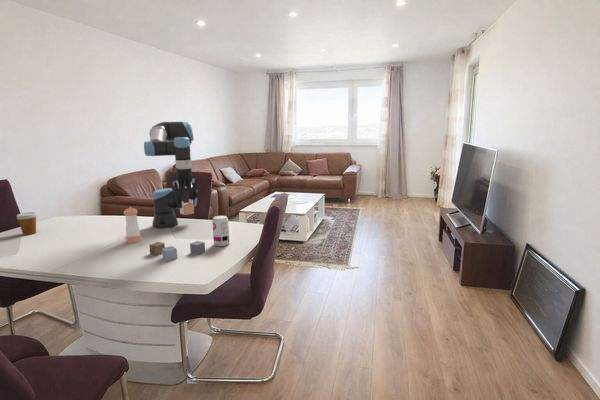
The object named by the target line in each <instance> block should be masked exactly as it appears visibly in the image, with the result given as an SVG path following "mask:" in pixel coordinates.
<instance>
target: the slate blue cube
mask: <svg viewBox="0 0 600 400" xmlns="http://www.w3.org/2000/svg"><path fill="white" fill-rule="evenodd" d="M177 252H178V250H177V247H174V246H173V245H171V246H167V247H165V248H162V254H161V255H162V259H163V260H165V261H167V262H169V261H172V260H176V259H178V253H177Z"/></svg>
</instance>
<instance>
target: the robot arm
mask: <svg viewBox="0 0 600 400" xmlns="http://www.w3.org/2000/svg"><path fill="white" fill-rule="evenodd" d="M148 134H149V141H144V143H143V150H144V155H145V156H146V157H160V156H161V157H164V156H166V157H167V156H174V159H175V168H176V170H175V174H176V180H174V181H172V182H171V184H172V188H171V187H170V188H168V187H166V188H161V189H157V190H155V191H154V192H153V193H152V202H153V211H154V212H153V213H154V216H153V218H152V219H153V220H152V228H154V229H170V228H174V227H176V226H178V225H179V221H178V218H177V216H176V213H175V209H177V210H178V209H179V213H180V215H184V203H191V204H194V208H195V207H196V206H197V204H198V187H197V185H198V184H197V183H198V179H197V178H193V177H192V176H193V171H192V162H191V161H192V159H191V145H192V142H193V141H194V140H195V139H194V134H193V128H192V125H191V123H190V121H189V122H188V121H163V122H159V123H156V124H155V125H153V126H152V127H151V128H150V130H149V133H148Z"/></svg>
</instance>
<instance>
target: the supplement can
mask: <svg viewBox="0 0 600 400" xmlns="http://www.w3.org/2000/svg"><path fill="white" fill-rule="evenodd" d="M211 221H212V236H213V245H214V246H215V247H218V246H223V247H227V246H228V245H229V244H230V227H229V218H228V217H227V215H216V216H213V218H212V220H211ZM226 245H227V246H226Z"/></svg>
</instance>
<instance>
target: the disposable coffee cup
mask: <svg viewBox="0 0 600 400" xmlns="http://www.w3.org/2000/svg"><path fill="white" fill-rule="evenodd" d="M37 216H38V215H37V214H36V212H33V211H32V212H22V213H19V214H16V220H17V221H18V225H19V227H20V230H21V232H22V233H21V234H22V236H29V235H31V236H32V235H35V234H37Z"/></svg>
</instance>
